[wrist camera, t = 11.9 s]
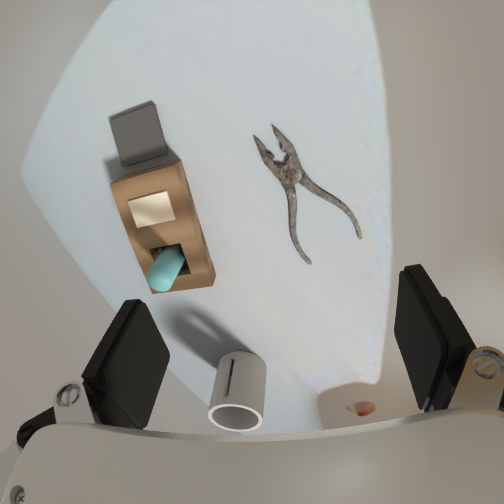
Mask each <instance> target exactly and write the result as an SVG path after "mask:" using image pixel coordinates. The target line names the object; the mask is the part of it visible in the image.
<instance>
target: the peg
mask: <svg viewBox="0 0 504 504" xmlns="http://www.w3.org/2000/svg"><path fill="white" fill-rule="evenodd" d="M185 259H186V258H185V255H184V252H183V249H182V246H181V243H178V244H172V245H167V246H165V248H164V249H163V250H162V252H161V253H160V255H159V256H158V258H157V259H156V261H155V262H154V264H153V265H152V267H151V268H150V269H149V271H148V272H147V275H146V280H147V283H148V284H149V286H150V287H151V288H153V289H154V290H156V291H160V292H164V291H167V290H169V289H170V288H171V286H172V284H173V282H174V280H175V278H176V276H177V274H178V272H179V271H180V269H181V267H182V265H183V263H184V261H185Z"/></svg>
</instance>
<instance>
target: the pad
mask: <svg viewBox="0 0 504 504" xmlns="http://www.w3.org/2000/svg"><path fill="white" fill-rule="evenodd" d="M110 125H111V128H112V132H113V135H114V139H115V142H116V146H117V149H118V152H119V156H120V159H121V162H122V166H123V167H125V166H128V165H131V164H134V163H137V162H140V161H144V160H147V159H150V158H153V157H157V156H160V155H163V154H167V153H168V150H167V146H166V143H165V139H164V136H163V132H162V128H161V125H160V121H159V117H158V114H157V110H156V106H155V104H153V105H150V106H147V107H145V108H142V109H139V110H136V111H134V112H131V113H129V114H126V115H123V116H121V117H118V118H116V119H113V120H111V121H110Z"/></svg>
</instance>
